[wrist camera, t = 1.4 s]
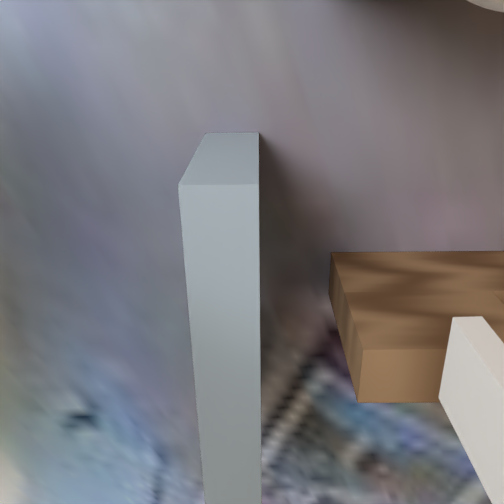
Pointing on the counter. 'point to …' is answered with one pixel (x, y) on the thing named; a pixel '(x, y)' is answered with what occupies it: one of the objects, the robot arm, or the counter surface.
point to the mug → (490, 4)
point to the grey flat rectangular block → (225, 311)
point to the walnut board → (409, 315)
